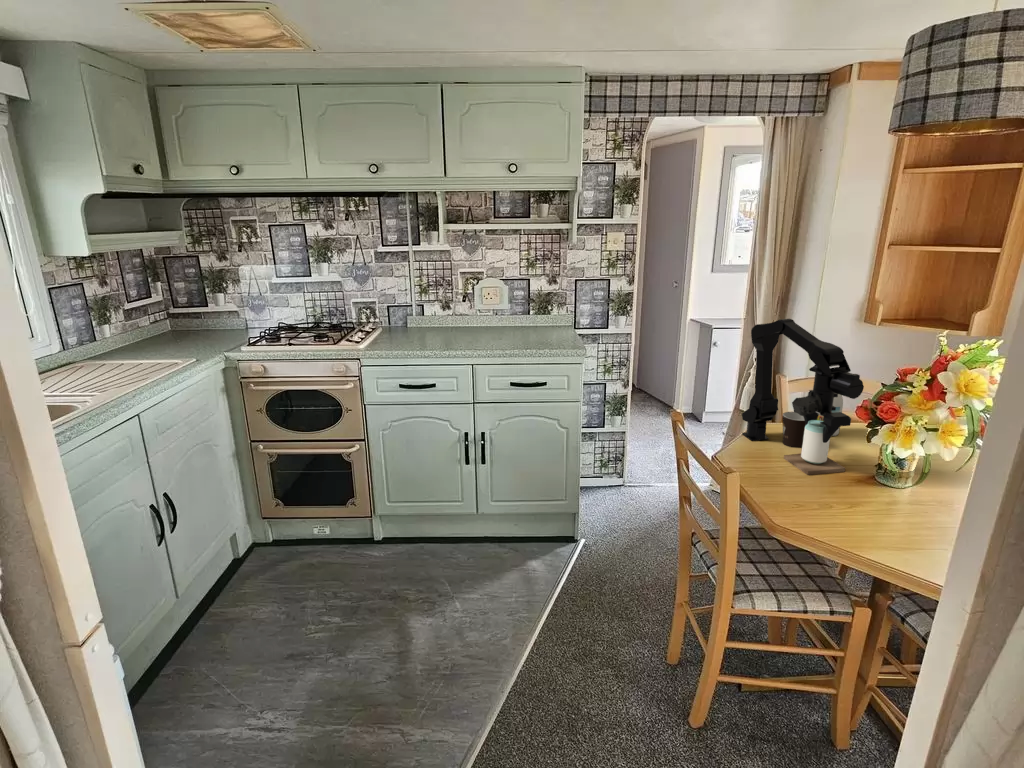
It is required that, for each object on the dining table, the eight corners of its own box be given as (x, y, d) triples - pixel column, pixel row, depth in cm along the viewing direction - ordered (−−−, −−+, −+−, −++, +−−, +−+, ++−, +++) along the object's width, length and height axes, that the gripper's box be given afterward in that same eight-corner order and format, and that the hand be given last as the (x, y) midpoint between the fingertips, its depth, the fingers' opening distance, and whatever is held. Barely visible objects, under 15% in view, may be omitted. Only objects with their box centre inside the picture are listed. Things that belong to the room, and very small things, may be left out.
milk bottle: (819, 426, 205) (827, 373, 199) (842, 432, 200) (850, 377, 194) (809, 432, 201) (817, 377, 195) (832, 438, 195) (841, 382, 189)
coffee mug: (804, 451, 185) (808, 422, 182) (776, 445, 190) (779, 417, 188) (812, 439, 194) (815, 412, 191) (784, 434, 199) (788, 407, 196)
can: (829, 459, 175) (835, 422, 172) (821, 466, 170) (827, 429, 167) (805, 453, 180) (810, 417, 176) (797, 460, 175) (802, 423, 172)
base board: (783, 458, 180) (784, 455, 180) (818, 455, 182) (818, 452, 182) (807, 475, 169) (808, 471, 169) (844, 471, 171) (845, 468, 170)
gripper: (780, 381, 176) (774, 428, 181) (819, 400, 158) (812, 452, 163) (813, 379, 178) (806, 426, 182) (856, 397, 160) (847, 449, 165)
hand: (816, 437), depth 173 cm, fingers closed on can, 7 cm apart
